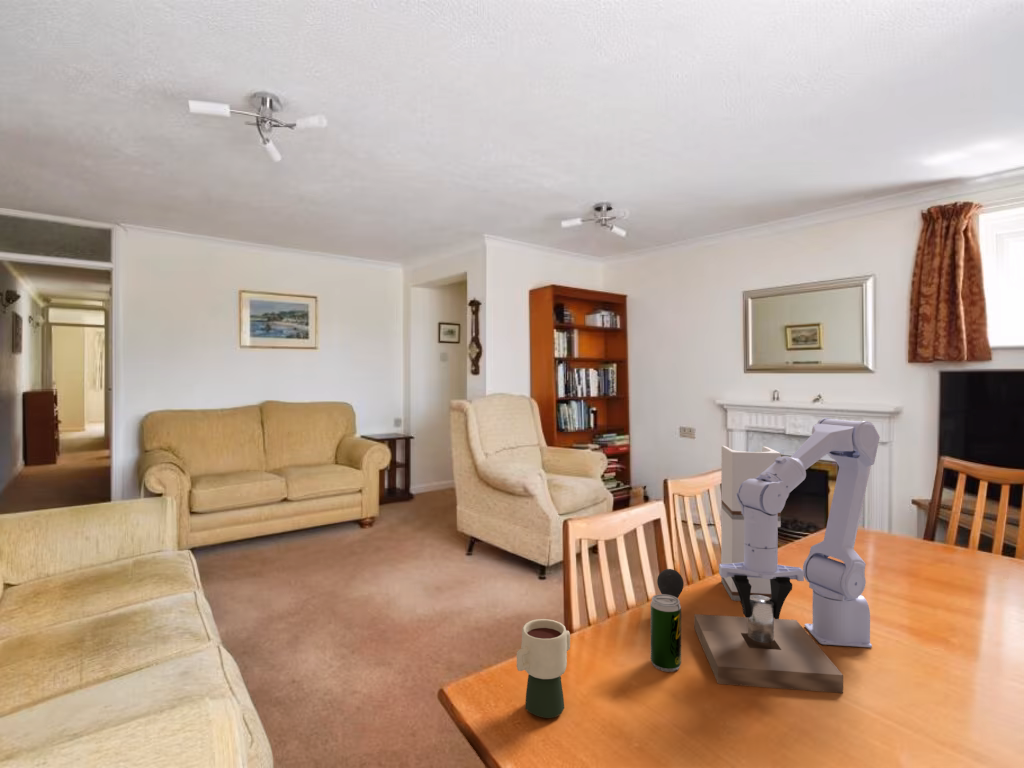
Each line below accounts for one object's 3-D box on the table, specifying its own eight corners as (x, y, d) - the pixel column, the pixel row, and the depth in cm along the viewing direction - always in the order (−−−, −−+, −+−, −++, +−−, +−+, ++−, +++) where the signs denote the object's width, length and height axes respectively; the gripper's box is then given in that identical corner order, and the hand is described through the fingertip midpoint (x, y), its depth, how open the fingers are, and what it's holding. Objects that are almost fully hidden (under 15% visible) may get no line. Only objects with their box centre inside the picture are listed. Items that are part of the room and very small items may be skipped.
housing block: (796, 634, 108) (796, 619, 108) (843, 692, 88) (843, 675, 88) (694, 628, 111) (694, 614, 111) (717, 683, 91) (717, 666, 91)
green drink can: (649, 670, 95) (649, 604, 95) (651, 654, 100) (651, 592, 100) (681, 674, 94) (681, 607, 93) (681, 659, 99) (681, 595, 98)
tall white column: (780, 603, 122) (780, 453, 122) (732, 600, 124) (732, 452, 124) (765, 584, 134) (765, 446, 133) (721, 581, 136) (721, 445, 135)
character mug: (555, 686, 90) (554, 611, 90) (585, 707, 85) (584, 627, 84) (503, 711, 84) (503, 630, 83) (532, 736, 78) (531, 648, 78)
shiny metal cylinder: (769, 631, 101) (769, 595, 101) (777, 643, 97) (777, 605, 97) (744, 630, 102) (744, 594, 102) (751, 641, 97) (751, 604, 97)
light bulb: (685, 621, 114) (685, 575, 114) (658, 619, 115) (658, 573, 115) (682, 609, 119) (682, 566, 119) (656, 607, 120) (656, 564, 120)
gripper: (725, 549, 96) (725, 623, 96) (810, 552, 94) (810, 628, 94) (716, 537, 103) (716, 606, 103) (795, 540, 101) (795, 610, 101)
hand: (760, 615), depth 99 cm, fingers closed on shiny metal cylinder, 4 cm apart
